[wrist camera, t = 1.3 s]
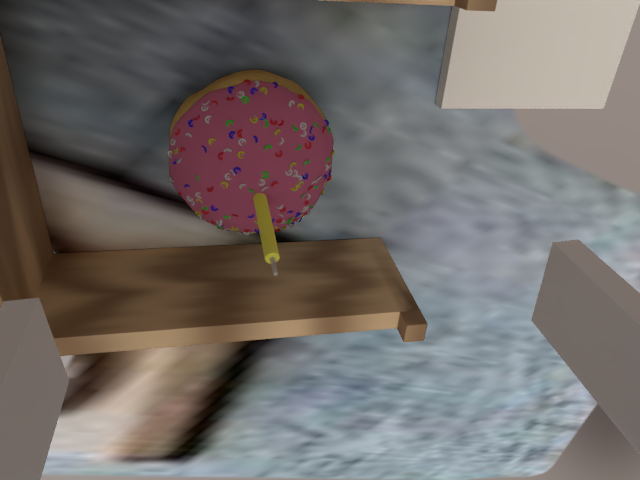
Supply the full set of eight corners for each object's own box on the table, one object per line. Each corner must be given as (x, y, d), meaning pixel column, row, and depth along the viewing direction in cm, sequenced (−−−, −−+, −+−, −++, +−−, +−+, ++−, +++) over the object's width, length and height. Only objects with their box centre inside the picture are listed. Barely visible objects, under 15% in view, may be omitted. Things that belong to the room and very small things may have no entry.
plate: (435, 103, 32) (441, 108, 31) (473, -113, 26) (481, -114, 26) (593, 103, 34) (603, 108, 33) (660, -97, 28) (674, -97, 28)
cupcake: (326, 178, 33) (378, 292, 23) (194, 206, 33) (189, 336, 23) (305, 39, 29) (360, 107, 19) (150, 68, 28) (121, 155, 18)
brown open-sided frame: (37, 270, 33) (-14, 378, 25) (-55, -68, 23) (-180, -58, 16) (378, 252, 37) (424, 340, 30) (419, -41, 28) (502, -23, 20)
